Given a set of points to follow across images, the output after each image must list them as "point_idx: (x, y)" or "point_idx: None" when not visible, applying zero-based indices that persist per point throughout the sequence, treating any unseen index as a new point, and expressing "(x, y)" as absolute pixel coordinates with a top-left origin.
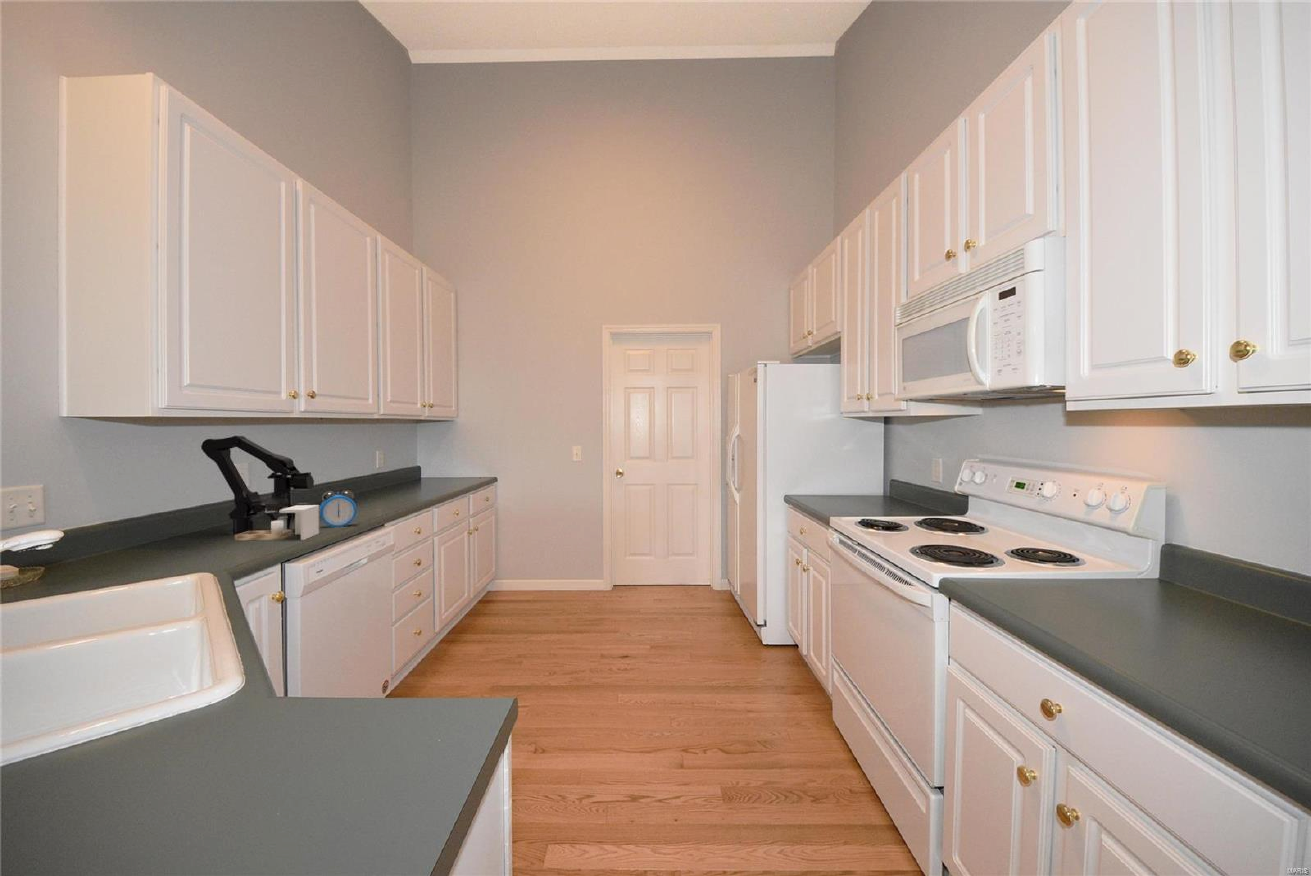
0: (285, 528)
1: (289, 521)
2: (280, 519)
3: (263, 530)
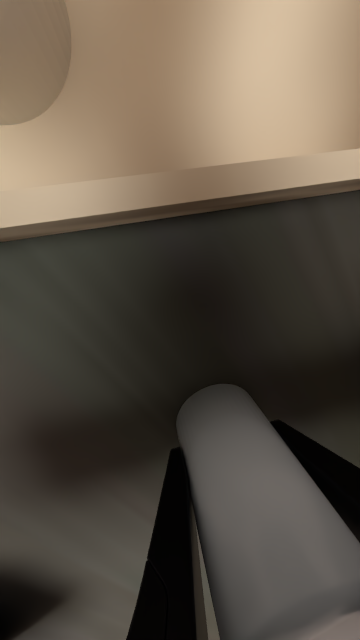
0: (189, 440)
1: (159, 554)
2: (296, 552)
3: (321, 181)
